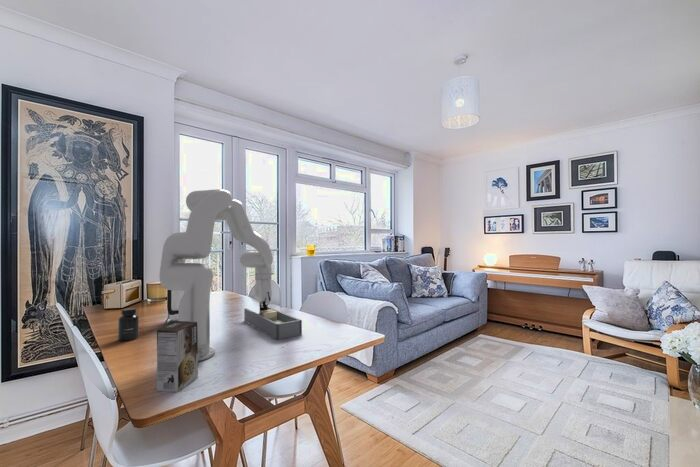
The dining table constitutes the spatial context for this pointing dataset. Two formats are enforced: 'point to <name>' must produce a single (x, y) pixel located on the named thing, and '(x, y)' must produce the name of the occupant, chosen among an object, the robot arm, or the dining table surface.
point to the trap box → (275, 324)
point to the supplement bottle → (128, 325)
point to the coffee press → (173, 304)
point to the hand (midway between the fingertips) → (263, 315)
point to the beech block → (269, 314)
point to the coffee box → (177, 356)
